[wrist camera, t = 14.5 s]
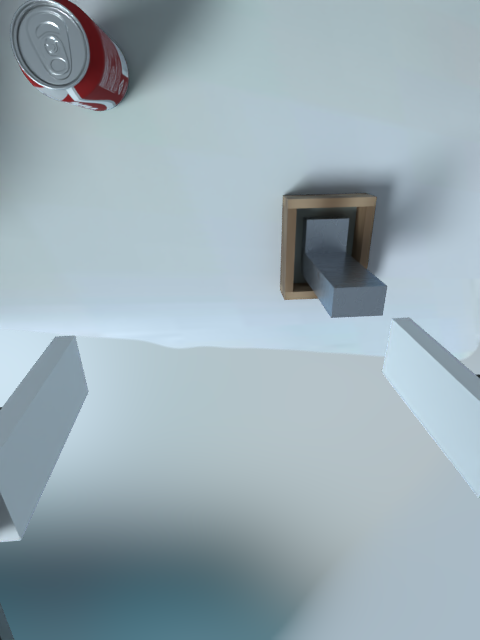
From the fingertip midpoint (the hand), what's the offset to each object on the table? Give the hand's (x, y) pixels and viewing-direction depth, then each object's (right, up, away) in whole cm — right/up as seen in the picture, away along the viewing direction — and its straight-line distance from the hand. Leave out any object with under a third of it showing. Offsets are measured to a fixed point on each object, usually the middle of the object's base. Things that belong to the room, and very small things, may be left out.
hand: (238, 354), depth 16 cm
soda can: (-15, +27, +22) cm, 38 cm away
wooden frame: (+10, +11, +31) cm, 35 cm away
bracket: (+10, +11, +31) cm, 34 cm away
